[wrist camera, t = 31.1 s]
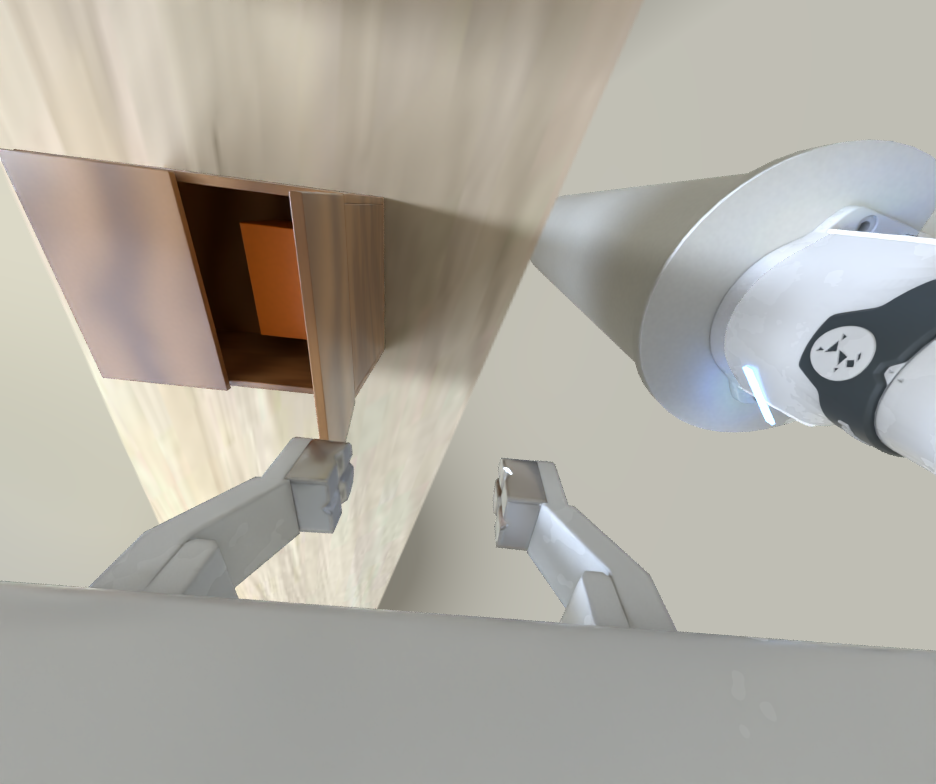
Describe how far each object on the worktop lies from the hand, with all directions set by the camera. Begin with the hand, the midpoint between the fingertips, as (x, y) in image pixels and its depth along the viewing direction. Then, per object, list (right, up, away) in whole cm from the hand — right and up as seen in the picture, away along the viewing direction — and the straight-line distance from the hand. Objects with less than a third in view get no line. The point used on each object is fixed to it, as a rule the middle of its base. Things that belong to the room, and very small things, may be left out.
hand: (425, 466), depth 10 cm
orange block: (-12, +12, +19) cm, 26 cm away
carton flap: (-6, +5, +7) cm, 11 cm away
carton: (-15, +13, +19) cm, 28 cm away
